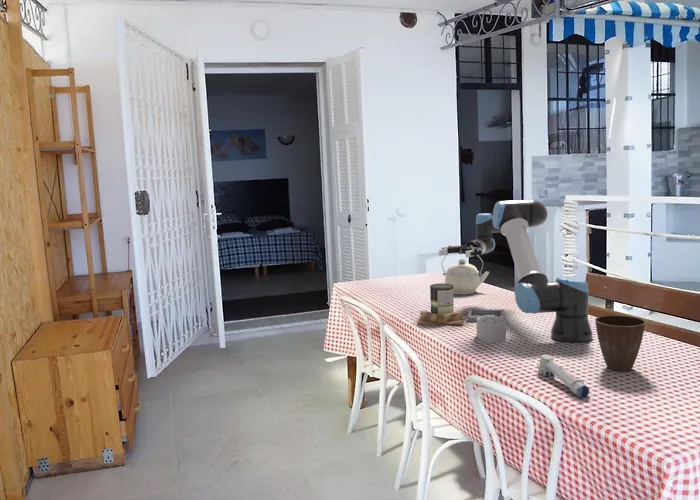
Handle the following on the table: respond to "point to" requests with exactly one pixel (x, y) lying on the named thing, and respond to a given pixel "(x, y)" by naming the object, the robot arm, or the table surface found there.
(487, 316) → the lumpy-topped squat cylinder
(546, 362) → the toothbrush head
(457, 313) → the brown flat cloth piece
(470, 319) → the gray square tray
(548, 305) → the robot arm
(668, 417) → the table surface
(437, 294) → the coffee can
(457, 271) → the kettle
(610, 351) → the plant pot
